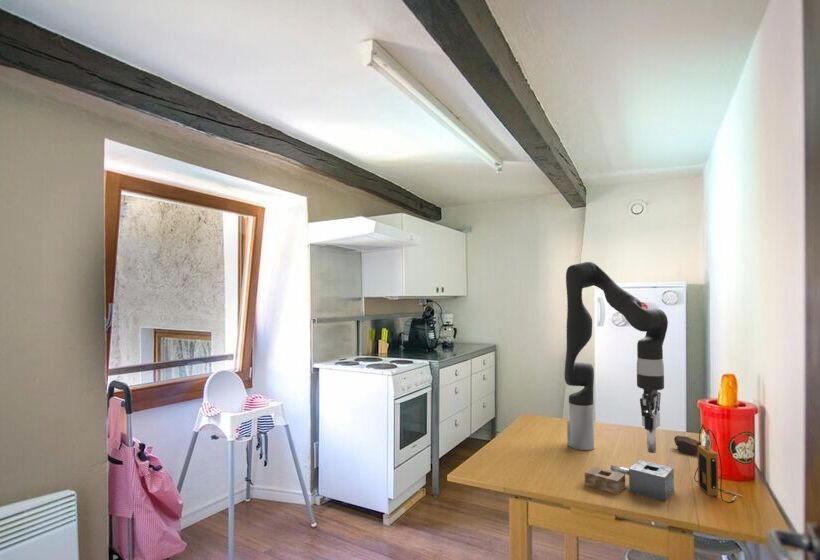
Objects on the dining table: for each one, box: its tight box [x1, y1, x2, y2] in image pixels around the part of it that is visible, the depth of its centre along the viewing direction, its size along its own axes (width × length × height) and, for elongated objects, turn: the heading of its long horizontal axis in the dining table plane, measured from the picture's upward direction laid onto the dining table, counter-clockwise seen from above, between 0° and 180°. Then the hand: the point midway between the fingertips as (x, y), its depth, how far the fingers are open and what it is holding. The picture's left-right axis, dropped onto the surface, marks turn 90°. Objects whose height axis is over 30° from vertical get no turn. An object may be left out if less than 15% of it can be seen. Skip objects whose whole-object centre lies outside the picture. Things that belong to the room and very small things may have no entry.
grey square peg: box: [641, 411, 661, 454], centre depth 141 cm, size 4×4×12 cm
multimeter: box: [693, 424, 743, 504], centre depth 140 cm, size 15×10×20 cm
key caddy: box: [584, 465, 626, 495], centre depth 145 cm, size 10×7×4 cm
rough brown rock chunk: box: [673, 435, 702, 456], centre depth 174 cm, size 6×7×10 cm
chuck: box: [609, 459, 675, 502], centre depth 143 cm, size 17×10×7 cm, turn 47°
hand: (651, 427), depth 141 cm, fingers closed on grey square peg, 4 cm apart
